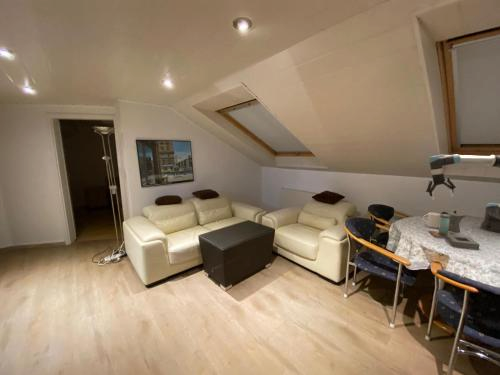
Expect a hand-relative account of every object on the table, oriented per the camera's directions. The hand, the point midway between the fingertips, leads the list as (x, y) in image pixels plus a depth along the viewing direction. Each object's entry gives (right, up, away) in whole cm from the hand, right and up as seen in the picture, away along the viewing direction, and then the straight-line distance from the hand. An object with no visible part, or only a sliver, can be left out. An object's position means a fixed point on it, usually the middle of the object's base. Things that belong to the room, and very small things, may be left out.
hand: (442, 198), depth 178 cm
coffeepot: (+13, -29, +6) cm, 32 cm away
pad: (-2, -31, -3) cm, 31 cm away
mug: (+6, -27, +18) cm, 33 cm away
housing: (-3, -34, -19) cm, 39 cm away
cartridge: (-2, -30, -3) cm, 30 cm away
